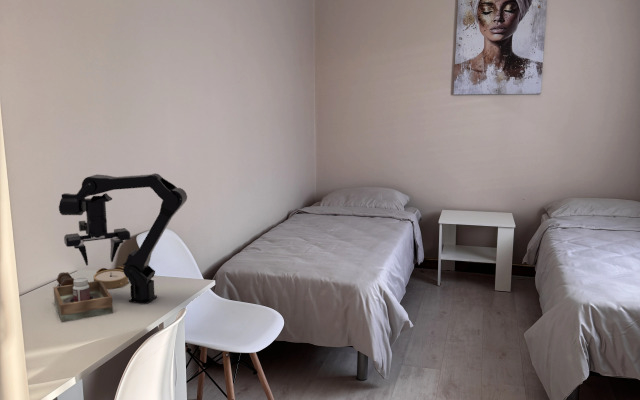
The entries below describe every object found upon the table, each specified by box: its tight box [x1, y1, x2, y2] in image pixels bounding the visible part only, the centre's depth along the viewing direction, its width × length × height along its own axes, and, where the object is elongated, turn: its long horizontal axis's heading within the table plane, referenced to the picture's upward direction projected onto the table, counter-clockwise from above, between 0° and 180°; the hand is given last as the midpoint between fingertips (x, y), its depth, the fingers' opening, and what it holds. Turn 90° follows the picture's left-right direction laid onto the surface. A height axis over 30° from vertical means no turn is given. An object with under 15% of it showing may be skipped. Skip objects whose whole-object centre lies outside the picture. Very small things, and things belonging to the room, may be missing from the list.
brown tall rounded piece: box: [56, 272, 75, 286], centre depth 182 cm, size 6×5×15 cm
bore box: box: [53, 280, 114, 323], centre depth 164 cm, size 14×18×5 cm
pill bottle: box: [73, 277, 90, 302], centre depth 165 cm, size 5×5×8 cm
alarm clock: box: [93, 266, 129, 290], centre depth 188 cm, size 11×5×15 cm
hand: (99, 263), depth 169 cm, fingers open, 7 cm apart
